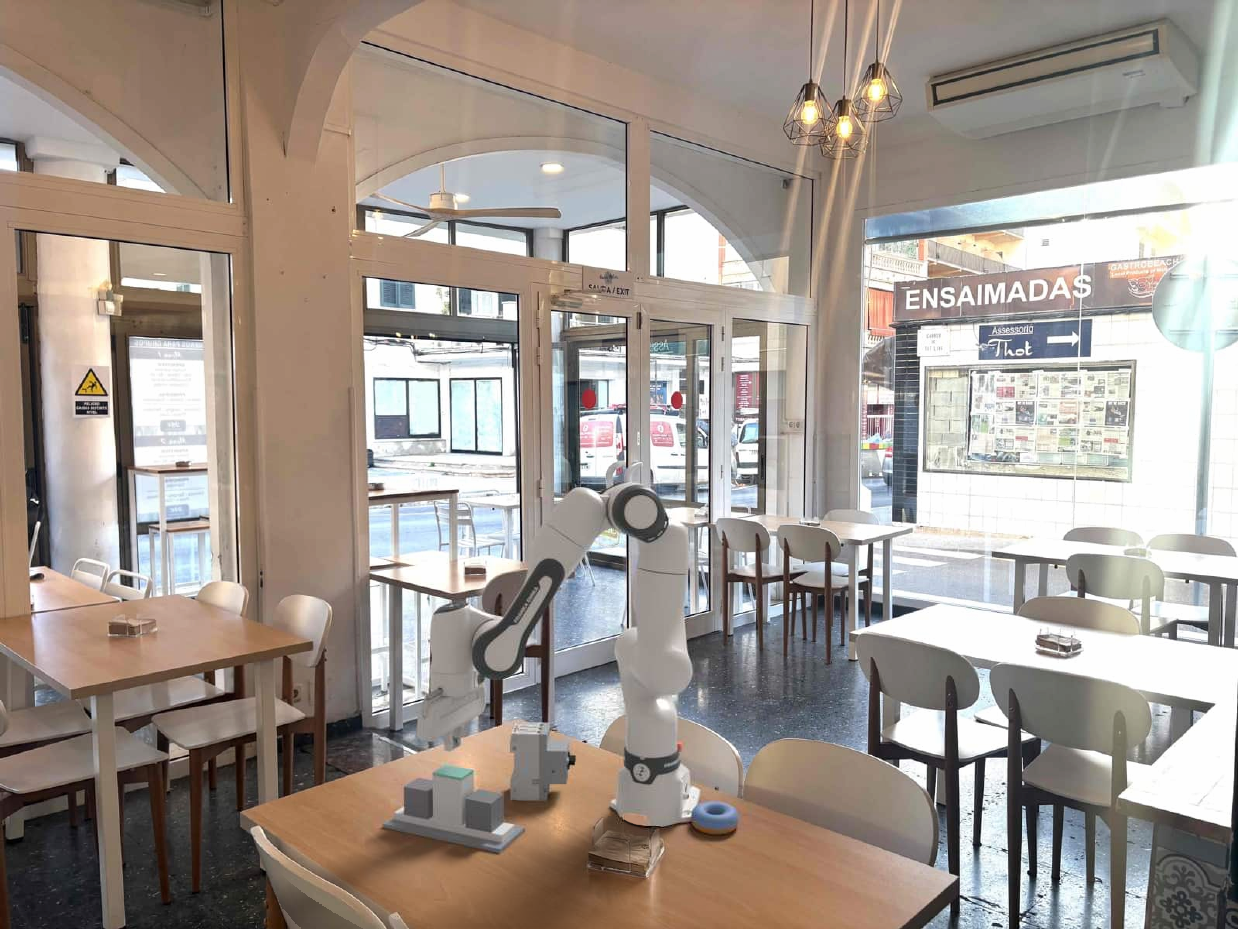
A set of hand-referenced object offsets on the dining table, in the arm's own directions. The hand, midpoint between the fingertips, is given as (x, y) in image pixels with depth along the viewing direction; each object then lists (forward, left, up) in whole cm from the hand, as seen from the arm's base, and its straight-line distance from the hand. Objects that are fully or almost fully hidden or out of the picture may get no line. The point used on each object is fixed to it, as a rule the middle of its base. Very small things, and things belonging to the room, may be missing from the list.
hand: (452, 748), depth 183 cm
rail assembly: (0, 0, -17) cm, 17 cm away
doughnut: (-23, +49, -18) cm, 57 cm away
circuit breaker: (-23, +9, -17) cm, 30 cm away
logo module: (0, 0, -15) cm, 15 cm away
